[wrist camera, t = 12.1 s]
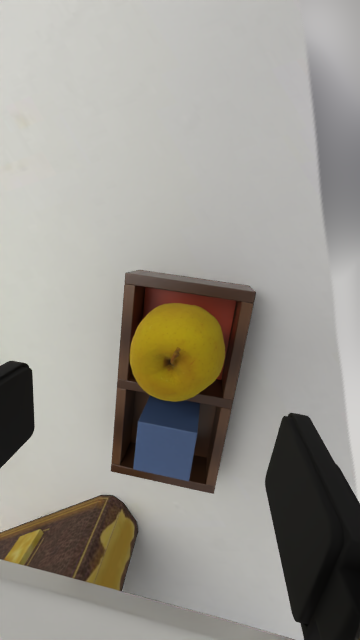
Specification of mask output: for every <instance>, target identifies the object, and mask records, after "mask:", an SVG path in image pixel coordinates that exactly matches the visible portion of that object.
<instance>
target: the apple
mask: <svg viewBox="0 0 360 640" xmlns="http://www.w3.org/2000/svg"><path fill="white" fill-rule="evenodd" d="M224 359H225V344H224V339H223V333H222V329H221V326H220V324H219V322H218V321H217V320H216V318H215V317H214V316H213V315H211V314H210V313H209V312H207V311H206V310H205V309H203V308H201V307H199V306H196V305H189V304H182V303H168V304H163V305H160V306H158V307H156V308H154V309H153V310H152V311H151V312H149V313H148V314H147V315H146V317H145V318H144V319H143V320H142V321H141V322H140V324H139V325H138V327H137V329H136V332H135V335H134V337H133V339H132V342H131V347H130V365H131V369H132V372H133V375H134V377H135V379H136V381H137V383H138V384H139V385H140V387H141V388H142V389H143V390H144V391H145V392H147V393H148V394H149V395H151V396H153V397H155V398H157V399H160V400H165V401H173V402H177V401H183V400H187V399H190V398H192V397H194V396H196V395H197V394H199V393H200V392H201V391H203V390H204V389H206V388H207V387H208V386H209V385H211V384H212V383H213V382H214V381H215V380H216V378H217V377H218V376H219V375H220V373H221V370H222V367H223V364H224Z"/></svg>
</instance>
